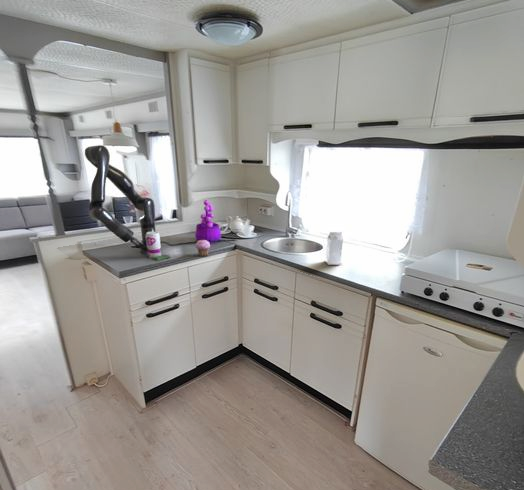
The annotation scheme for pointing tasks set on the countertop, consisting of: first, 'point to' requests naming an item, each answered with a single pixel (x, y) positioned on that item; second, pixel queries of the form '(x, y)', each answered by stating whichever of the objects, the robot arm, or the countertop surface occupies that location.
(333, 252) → the milk carton
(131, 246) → the saucepan
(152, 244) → the supplement can
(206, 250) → the cupcake
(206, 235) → the decorative plant
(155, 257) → the green rectangular block
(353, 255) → the countertop surface
